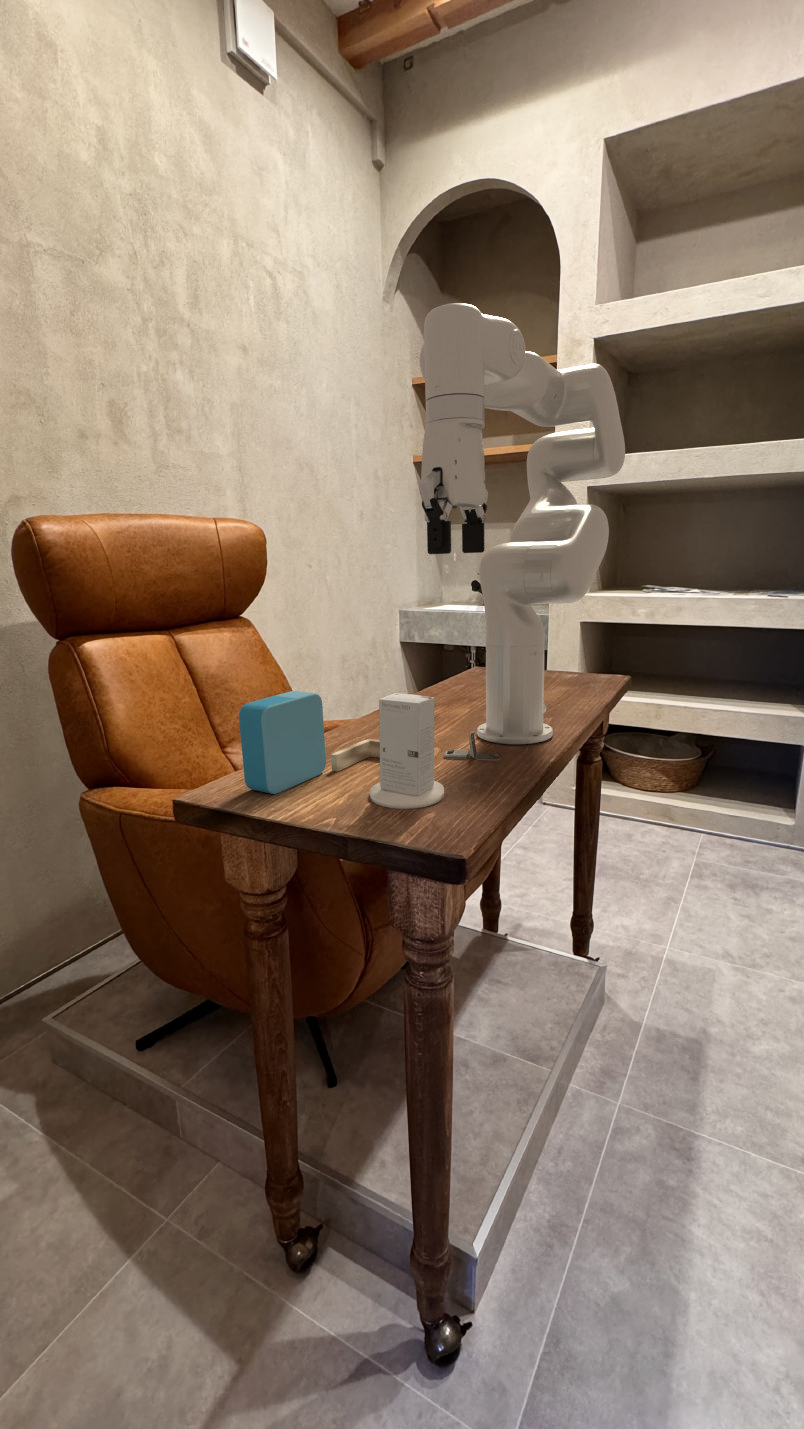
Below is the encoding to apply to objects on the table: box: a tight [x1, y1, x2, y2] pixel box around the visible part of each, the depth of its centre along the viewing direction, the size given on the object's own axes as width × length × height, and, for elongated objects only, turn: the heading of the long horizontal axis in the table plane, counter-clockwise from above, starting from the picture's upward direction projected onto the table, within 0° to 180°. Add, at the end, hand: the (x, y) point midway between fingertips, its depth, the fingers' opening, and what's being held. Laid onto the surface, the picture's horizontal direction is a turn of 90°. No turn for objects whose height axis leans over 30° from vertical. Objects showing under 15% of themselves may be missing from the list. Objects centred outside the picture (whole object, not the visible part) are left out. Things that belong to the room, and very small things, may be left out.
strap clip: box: [443, 730, 501, 761], centre depth 102 cm, size 8×3×4 cm, turn 78°
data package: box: [238, 690, 327, 795], centre depth 92 cm, size 12×4×12 cm, turn 147°
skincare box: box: [378, 692, 436, 796], centre depth 86 cm, size 6×4×12 cm
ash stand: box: [330, 738, 380, 772], centre depth 99 cm, size 10×10×2 cm
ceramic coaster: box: [369, 780, 445, 810], centre depth 87 cm, size 10×10×1 cm
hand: (457, 553), depth 90 cm, fingers open, 9 cm apart
